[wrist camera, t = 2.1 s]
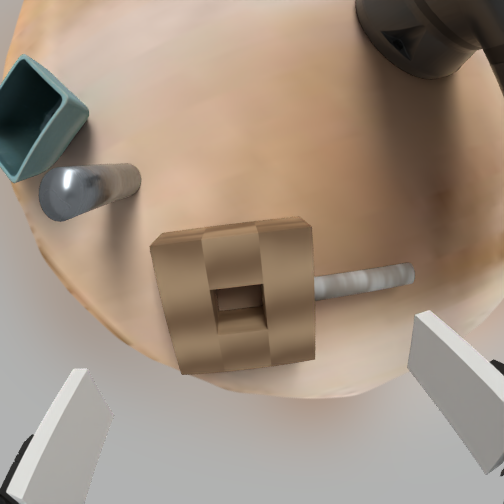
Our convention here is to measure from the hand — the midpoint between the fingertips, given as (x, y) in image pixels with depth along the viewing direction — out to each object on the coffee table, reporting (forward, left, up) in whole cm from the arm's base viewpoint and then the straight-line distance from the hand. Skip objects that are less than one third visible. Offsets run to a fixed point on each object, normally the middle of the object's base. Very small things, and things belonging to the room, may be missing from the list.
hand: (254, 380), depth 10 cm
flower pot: (-16, -18, -21) cm, 32 cm away
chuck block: (+5, +5, -21) cm, 22 cm away
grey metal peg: (-8, -11, -21) cm, 25 cm away
